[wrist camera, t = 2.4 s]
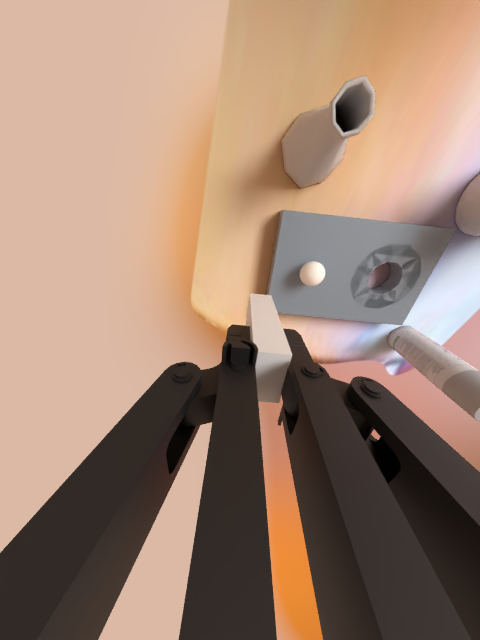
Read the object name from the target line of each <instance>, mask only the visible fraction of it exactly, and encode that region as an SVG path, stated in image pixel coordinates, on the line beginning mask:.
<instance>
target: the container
mask: <svg viewBox="0 0 480 640" xmlns="http://www.w3.org/2000/svg"><path fill="white" fill-rule="evenodd" d="M387 341H388V344H389V345H390V346H391V347H392V348H393V349H394V350H395V351H397V352H398V353H399V354H400V355H401V356H402V357H403V358H404V359H406V360H407V361H408V362H409V363H410V364H411V365H412V366H414V367H415V368H416V369H417V370H418V371H419V372H420V373H422V374H423V375H424V376H425V377H426V378H427V379H428V380H429V381H431V382H432V383H433V384H434V385H435V386H436V387H437V388H439V389H440V390H441V391H442V392H444V393H445V394H446V395H447V396H448V397H449V398H450V399H452V400H453V401H454V402H455V403H457V404H458V405H459V406H460V407H461V408H463V409H464V410H465V411H466V412H467V413H468V414H470V415H471V416H472V417H473V418H474V419H476V420H477V421H479V422H480V371H478V370H477V369H475V368H474V367H472V366H471V365H469V364H468V363H466V362H465V361H463V360H462V359H460V358H459V357H457V356H456V355H454V354H452V353H451V352H449V351H448V350H446V349H445V348H443V347H442V346H440V345H439V344H437V343H436V342H434V341H433V340H431V339H430V338H428V337H426V336H425V335H423V334H422V333H420V332H419V331H417V330H416V329H414V328H412V327H410V326H402V327H399V328H397V329H395V330H393V331H392V332H391V333H390V335H389V336H388V340H387Z"/></svg>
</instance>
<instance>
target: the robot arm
mask: <svg viewBox="0 0 480 640" xmlns="http://www.w3.org/2000/svg"><path fill="white" fill-rule="evenodd" d="M305 346H306V345H305V343H304V342H303V339H302V337H301V335H300V334H299V333H298V332H296V331H295V330H292V329H283V327H282V324H281V321H280V319H279V316H278V313H277V310H276V307H275V304H274V302H273V299H272V296H271V295H262V294H252V293H250V295H249V303H248V311H247V319H246V326H242V325H231V326H230V327H229V328H228V331H227V337H226V342H225V343H224V345H223V349H222V362H221V363H220V364H219V365H217V366H215V367H213V368H210V369H205V370H200V368H199V367H198V366H197V365H195V364H193V363H189V362H181V363H176V364H174V365H171V366H170V367H168V368H167V369H166V370H165V371H164V372H163V373H162V374H161V375H160V377H159V378H158V379H157V380H156V381H155V382H154V383H153V384H152V385H151V387H150V388H149V389H148V390H147V391H146V392H145V393H144V394H143V395H142V397H141V398H140V399H139V400H138V401H137V402H136V403H135V404H134V405H133V407H132V408H131V409H130V410H129V411H128V412H127V413H126V414H125V415H124V416H123V418H122V419H121V420H120V421H119V422H118V423H117V424H116V425H115V426H114V428H113V429H112V430H111V431H110V432H109V433H108V434H107V435H106V436H105V438H104V439H103V440H102V441H101V442H100V443H99V444H98V445H97V446H96V448H95V449H94V450H93V451H92V452H91V453H90V454H89V455H88V456H87V457H86V459H85V460H84V461H83V462H82V463H81V464H80V465H79V467H78V468H77V469H76V470H75V471H74V472H73V473H72V474H71V475H70V476H69V477H68V479H67V480H66V481H65V482H64V483H63V484H62V485H61V486H60V487H59V489H58V490H57V491H56V492H55V493H54V494H53V495H52V496H51V498H50V499H49V500H48V501H47V502H46V503H45V504H44V505H43V506H42V507H41V508H40V510H39V511H38V512H37V513H36V514H35V515H34V516H33V517H32V519H31V520H30V521H29V522H28V523H27V524H26V525H25V526H24V527H23V528H22V530H21V531H20V532H19V533H18V534H17V535H16V536H15V537H14V538H13V540H12V541H11V542H10V543H9V544H8V545H7V546H6V547H5V548H4V550H3V551H2V552H1V553H0V640H98V639H99V636H100V634H101V632H102V630H103V628H104V626H105V624H106V622H107V620H108V617H109V616H110V613H111V611H112V609H113V607H114V605H115V603H116V601H117V599H118V597H119V595H120V593H121V590H122V588H123V586H124V584H125V582H126V580H127V578H128V576H129V574H130V572H131V570H132V567H133V565H134V563H135V561H136V559H137V557H138V555H139V553H140V550H141V549H142V546H143V544H144V542H145V540H146V538H147V536H148V534H149V532H150V530H151V528H152V525H153V523H154V521H155V519H156V517H157V515H158V513H159V510H160V509H161V507H162V504H163V502H164V500H165V498H166V496H167V494H168V492H169V490H170V488H171V486H172V484H173V482H174V480H175V477H176V475H177V473H178V471H179V469H180V467H181V465H182V463H183V461H184V459H185V456H186V454H187V452H188V450H189V448H190V446H191V444H192V442H193V440H194V437H195V435H196V433H197V431H198V429H199V427H200V425H202V424H206V423H210V422H212V428H211V435H210V442H209V448H208V455H207V461H206V467H205V474H204V480H203V487H202V493H201V499H200V506H199V512H198V519H197V525H196V532H195V538H194V545H193V551H192V558H191V564H190V571H189V577H188V584H187V590H186V597H185V603H184V610H183V616H182V623H181V629H180V635H179V640H277V637H276V625H275V611H274V599H273V586H272V573H271V560H270V547H269V534H268V523H267V509H266V496H265V484H264V472H263V458H262V446H261V432H260V419H259V408H258V401H263V402H275V403H279V401H280V397H281V395H282V399H283V406H282V409H281V412H280V416H279V419H278V425H281V422H282V421H283V426H284V431H285V437H286V442H287V447H288V453H289V458H290V463H291V469H292V474H293V479H294V485H295V490H296V496H297V501H298V506H299V512H300V517H301V523H302V528H303V533H304V538H305V544H306V549H307V555H308V560H309V565H310V571H311V576H312V582H313V587H314V592H315V598H316V603H317V608H318V614H319V619H320V625H321V630H322V635H323V640H480V472H479V471H478V470H476V469H475V468H474V467H473V466H472V465H471V464H470V463H469V462H468V461H466V460H465V459H464V458H463V457H462V456H461V455H460V454H459V453H458V452H456V451H455V450H454V449H453V448H452V447H451V446H450V445H448V443H446V442H445V441H444V440H443V439H442V438H441V437H440V436H439V435H438V434H436V433H435V432H434V431H433V430H432V429H431V428H430V427H429V426H427V425H426V424H425V423H424V422H423V421H422V420H421V419H420V418H419V417H417V416H416V415H415V414H414V413H413V412H412V411H411V410H410V409H409V408H407V407H406V406H405V405H404V404H403V403H402V402H401V401H400V400H399V399H397V398H396V397H395V396H394V395H393V394H392V393H391V392H390V391H388V390H387V389H386V388H385V387H384V386H382V385H381V384H380V383H378V382H376V381H374V380H372V379H369V378H366V377H355V378H353V379H352V381H351V383H350V384H348V383H345V382H342V381H339V380H335V379H333V378H330V376H329V374H328V373H327V371H326V370H325V369H324V368H323V367H321V366H320V365H319V364H317V363H314V362H313V360H312V358H311V356H310V354H309V352H308V349H307V347H305ZM374 429H375V430H376V432H377V433H378V434H379V435H380V436H381V437H380V439H379V440H377V439H375V438H374V437H373V436H372V435H371V433H372V431H373V430H374Z"/></svg>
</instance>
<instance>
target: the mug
mask: <svg viewBox="0 0 480 640" xmlns="http://www.w3.org/2000/svg"><path fill="white" fill-rule="evenodd" d="M455 220H456V224H457V226H458V228H459V229H460V230H461V231H462V232H463V233H466V234H468V235H472V236H480V174H479V175H477V176H476V177H475V178H474V179H473V180H472V181H471V183H470V184H469V185H468V186H467V188H466V189H465V190H464V192H463V193H462V195H461V197H460V199H459V201H458V204H457V207H456V212H455Z"/></svg>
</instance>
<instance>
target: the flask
mask: <svg viewBox="0 0 480 640" xmlns="http://www.w3.org/2000/svg"><path fill="white" fill-rule="evenodd" d="M374 106H375V90H374V89H373V87H372V85H371V84H370V82H369V81H368V79H367V78H366V76H365V75H364V76H361V77H358V78H355V79H352V80H350V81H347V82H345V84H344V85H343V86H342V88H341V89H340V90H339V92H338V93H337V94H336V96H335V97H334V98H333V100H332V101H331V102H330V105H326V106H323V107H320V108H317V109H314V110H311V111H308V112H305V113H302V114H300V115H299V116H298V117H297V119H296V120H295V122H294V123H293V125H292V126H291V127H290V129H289V130H288V132H287V133H286V135H285V136H284V137H283V139H282V140H281V144H282V153H283V162H284V171H285V172H286V173H287V174H288V175H289V176H290V177H291V179H292V180H293V181H294V182H295V183H296V184H297V185H298V186H299V188H303V187H306V186H310V185H314V184H317V183H321V182H323V181H324V180H325V179H326V178H327V177H328V176H329V174H330V173H331V172H332V171H333V170H334V168H335V167H336V166H337V165H338V164H339V163H340V161H341V160H342V159H343V156H344V151H345V147H346V144H347V142H348V139H349V137H351V136H354V135H357V134H359V133H360V132H361V130H362V129H363V128H364V127H365V126H366V124H367V123H368V122H369V121H370V120H371V118H372V117H373V116H374Z"/></svg>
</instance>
